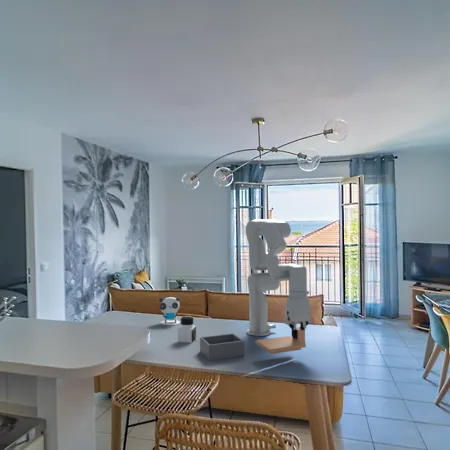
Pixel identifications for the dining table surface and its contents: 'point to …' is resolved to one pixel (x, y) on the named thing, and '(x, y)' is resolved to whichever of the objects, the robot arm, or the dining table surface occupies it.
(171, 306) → the panda figurine
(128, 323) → the dining table surface
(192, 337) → the medicine bottle
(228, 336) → the grey tray
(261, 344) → the lid
